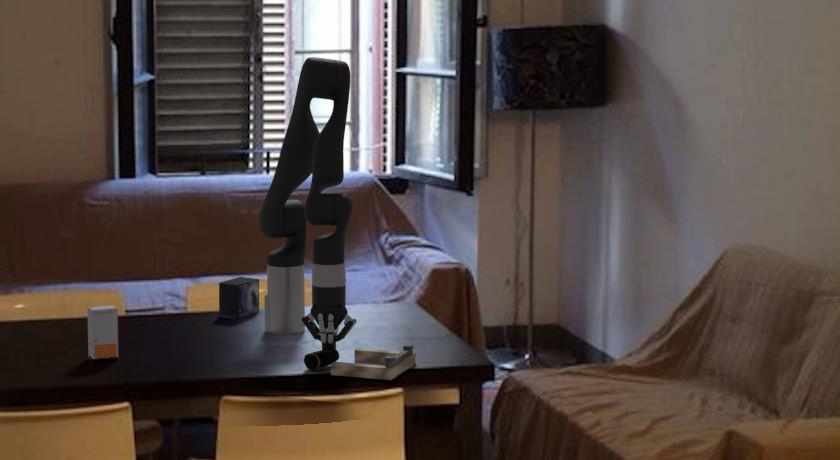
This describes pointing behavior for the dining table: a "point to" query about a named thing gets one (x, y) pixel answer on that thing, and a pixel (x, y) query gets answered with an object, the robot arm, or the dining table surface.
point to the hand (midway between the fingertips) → (329, 358)
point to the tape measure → (320, 359)
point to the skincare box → (102, 332)
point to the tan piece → (393, 360)
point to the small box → (238, 297)
